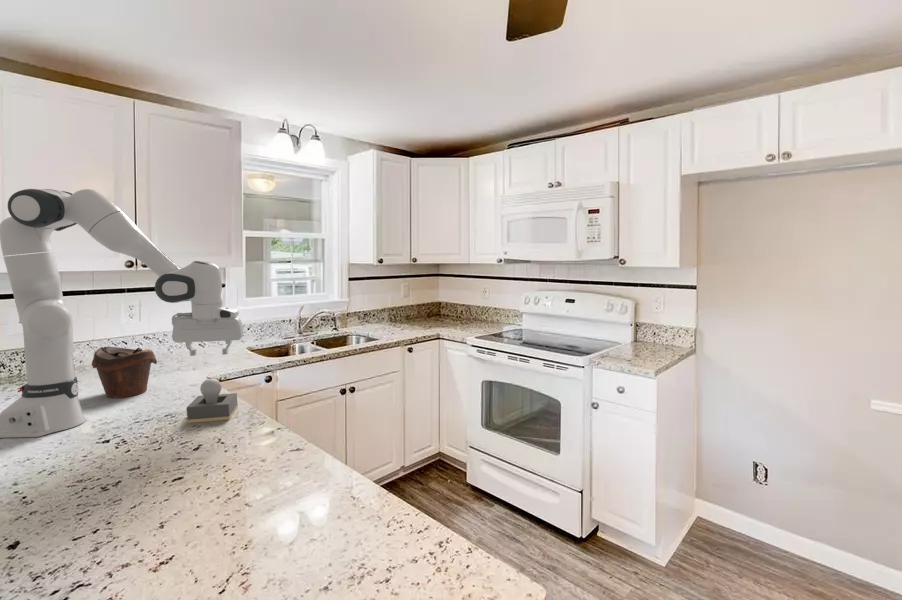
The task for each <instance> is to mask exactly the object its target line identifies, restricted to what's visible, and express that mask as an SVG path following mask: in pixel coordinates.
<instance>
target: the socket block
mask: <svg viewBox="0 0 902 600" xmlns="http://www.w3.org/2000/svg"><path fill="white" fill-rule="evenodd" d="M238 406H239V405H238V393H237V392H231V393H219V395H218V398H217V403H207V404H206V400H205V398H204V396H203V395H197V396H196V397H195V398H194V399H193V400H192V401H191V402H190V403H189V404H188V405H187V406H186V415H187V417H186V418H187V424H193V423H201V422H202V423H203V422H214V421H215V422H216V421H217V422H218V421H227V420H230V419H232V417H233V415H234V414H235V412H236V411H237V410H238Z"/></svg>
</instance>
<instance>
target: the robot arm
mask: <svg viewBox="0 0 902 600" xmlns="http://www.w3.org/2000/svg"><path fill="white" fill-rule="evenodd" d="M7 210H8V213H9V215H10V217H6V218H5V219H3V220H2V221H1V223H0V248H1V253H2V256H3V260H4V264H5V267H6V272H7V275H8V279H9V282H10V286H11V291H12V294H13V299H14V301H15V302H14V303H15V306H16V311H17V314H18V318H19V321H20V324H21V325H22V332H23V333H22V334H23V347H24V362H25V371H26V381H27V383H26V384H24V385H22V386H20V387H19V388H17V389H16V390H18V391H17V393H20V392H21V397H18V399H16V400H15V401H13V402H12V403H11V404H9V406H7V407H6V408H5V409H3V410H1V412H0V438H3V439H4V438H7V439H8V438H10V439H11V438H36V437H37V438H39V437H42V436H45V435H46V436H47V435H49V434H52V433H56V432H61V431H64V430H68V429H73V428H74V427H77V426H80V425H82V424H84V423H85V422H86V420H87V417H85V414H84V413H83V410H82V406H81V403H80V399H79V383H78V378H77V376H76V374H75V373H76V372H75V370H76V369H75V361H74V328H73V315H72V313H71V311H70V309H69V308H68V307H67V306H66V304H65V299H64V295H63V290H62V285H61V284H62V283H61V277H60V273H59V269H58V265H57V262H56V258H55V252H54V250H53V249H54V248H53V246H52V243H51V235H52V233H53V232H54V231H56V232H61V231H63V230H65V229H68V228H71V227H73V226H76V225H78V226H79V227H81V228H82V230H84V231H85V232H87V234H89V236H90V237H91V238H93V240H95V241H96V242H98V243H99V244H101V246H104V247H105V249H108V250H109V251H112V252H116V253H119V254H122V255H125V256H126V255H127V256H128V257H131V258H134V259H135V260H138V261H140V262H141V263H142V264H144V265H145V266H146V267H147V268H148V269H150V270H151V271H152V272H153V273H154V274H155V275H157V276H158V278H157V280H155V283H154V291H155V294H156V295H157V297H158V298H159V299H160V300H162V301H163V302H166V303H170V304H176V303H182V302H190V303H191V304H190V305H191V312H177V313H175V314H174V315H172V317H171V324H172V336H171V337H172V338H171V339H172V341H173V342H174V343H185V344H184V345H185V347H186V348H187V350H189V356H190V357H194V356H195V357H197V355H198V353H197V349H194V347H193V346H192V345H193V343H195V342H197V343H198V342H199V343H200V342H222V341H223V342H225V344H226V346H225V347H224V348H222V349H221V351H222V353H221V354H222V355H224V356H225V355H228V354H229V348H230V347H231V345H232V341H240V340H241V339H242V338H243V337H244V328H243V323H242V320H241V318H240V317H239V313H240V312H239V310H238V309H236V308H232V307H228V306H225V305H224V303H223V298H222V291H223V283H222V281H223V280H222V275H221V271H220V268H219V266H218V265H217V264H215V263H212V262H209V261H201V260H194V261H192V262H190V263H189V264H188V265H186V266H184V267H180V266H179V265H178V264H177V263H175V262H174V261H173V260H172V259H171V258H169V256H167V255H166V254H165V253H164V252H163V251H162V250H160V249H159V248H158V247H157V246H156V245H155V244H154V243H153V242H152V241H151V240H150V239H149V238H148V236H146V234H144V233H143V232H142V230H141V229H140V228H139V227H138V225H137V224H136V223H135V222H134V221H133V220H132V219H131V218H130V217H129V215H127V214H126V213H125V212H124V211H123V210H122V209H121V208H120V207H119V206H117V205H116V204H115V203H114V202H113V201H111V200H110V199H109V198H107V197H106V196H105V195H103V194H101V193H100V192H99V191H96V190H94V189H90V188H84V189H79V190H77V191H75V192H73V193H71V192H68V191H64V190H57V189H51V188H43V189H37V188H27V189H26V188H25V189H22V190H18V191H16V192H14V193H13V194H12V195H11V196H10V197H9V198H8V201H7Z"/></svg>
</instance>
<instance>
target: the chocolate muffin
mask: <svg viewBox="0 0 902 600" xmlns="http://www.w3.org/2000/svg"><path fill="white" fill-rule="evenodd" d="M152 364H154V365H157V364H158V361H157V358H156V356H155V353H154V351H153V350H151V349H144V350H143V348H140V347H137V348H136V349H132V348H126V347H125V348H124V347H117V346H102V347H99V348H97V350H96V351H95V352H94V354H93V359H92V362H91V366H92V368H93V369H96V371H97V374H98V377H99V380H100V382H101V385H102V387H103V391H104V393H105V396H106V397H107V398H112V399H119V398H120V399H121V398H129V397H132V396H138V395H142V394H143V393H146V392H147V390H148V382H149V377H150V372H151V366H152Z"/></svg>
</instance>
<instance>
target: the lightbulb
mask: <svg viewBox="0 0 902 600" xmlns="http://www.w3.org/2000/svg"><path fill="white" fill-rule="evenodd" d="M199 389H200V393H201V396H204V398H205V400H206V404H207V403H217V398H218V395H219V394H221V391H222V389H223V388H222V383H221V382H220V380H218V379H217V378H207V379H205V380H204V381H203V382H202V383H201V384H200V388H199Z"/></svg>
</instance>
